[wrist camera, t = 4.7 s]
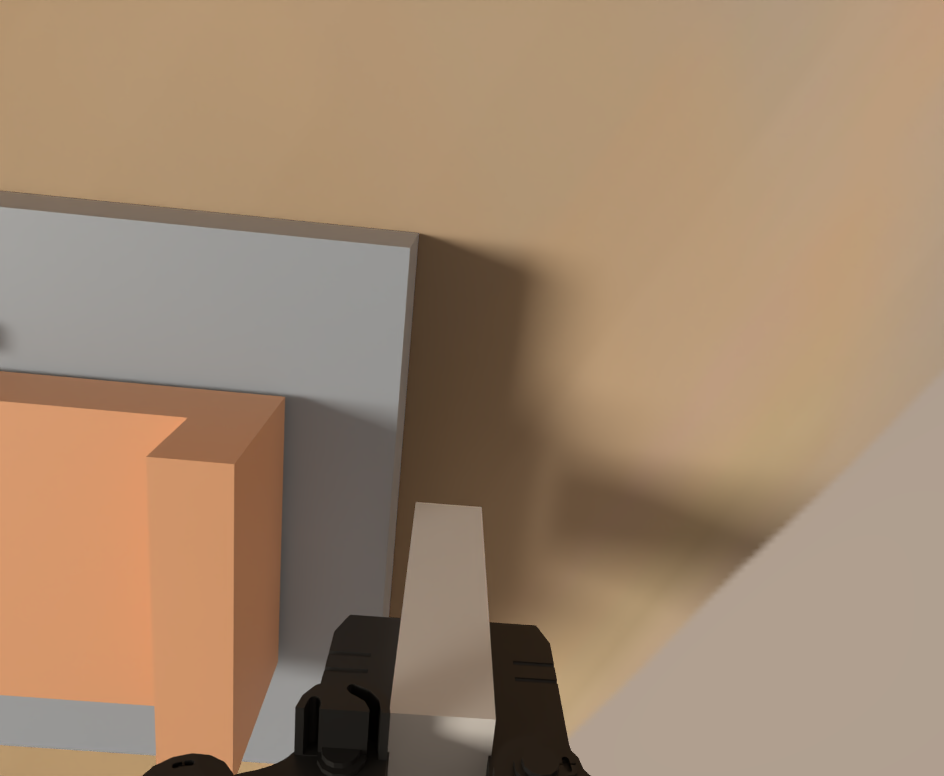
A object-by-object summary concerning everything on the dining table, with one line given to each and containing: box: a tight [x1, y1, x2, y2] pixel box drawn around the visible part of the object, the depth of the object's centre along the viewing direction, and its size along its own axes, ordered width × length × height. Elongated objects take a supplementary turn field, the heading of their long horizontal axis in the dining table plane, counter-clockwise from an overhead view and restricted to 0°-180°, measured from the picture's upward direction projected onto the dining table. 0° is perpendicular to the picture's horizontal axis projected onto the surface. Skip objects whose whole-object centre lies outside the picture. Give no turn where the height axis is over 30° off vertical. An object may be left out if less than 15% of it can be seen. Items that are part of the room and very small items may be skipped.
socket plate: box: [0, 191, 419, 764], centre depth 18 cm, size 14×18×4 cm
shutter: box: [0, 371, 285, 775], centre depth 15 cm, size 7×7×4 cm
